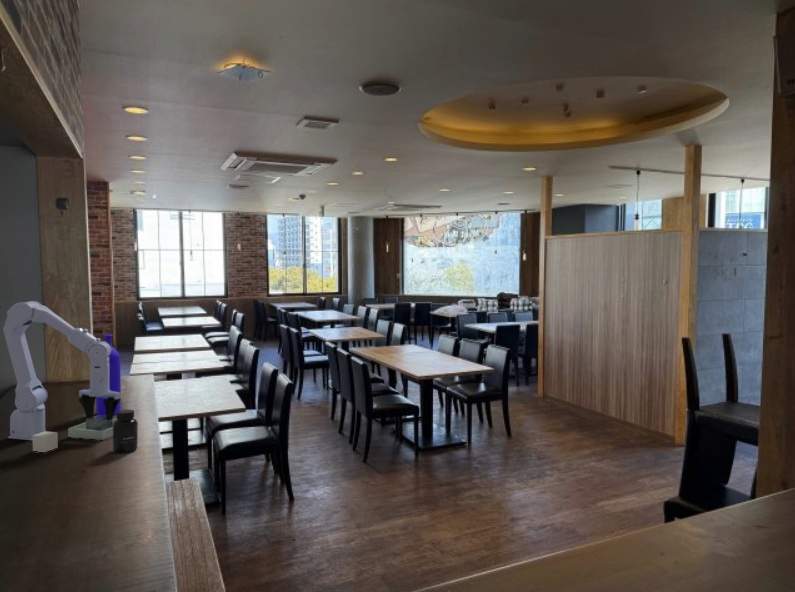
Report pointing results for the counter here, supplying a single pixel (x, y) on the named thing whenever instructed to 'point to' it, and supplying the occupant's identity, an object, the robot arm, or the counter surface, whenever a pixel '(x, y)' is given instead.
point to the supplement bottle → (125, 432)
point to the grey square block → (98, 423)
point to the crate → (90, 432)
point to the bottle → (111, 378)
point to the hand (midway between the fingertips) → (99, 418)
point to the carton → (45, 441)
